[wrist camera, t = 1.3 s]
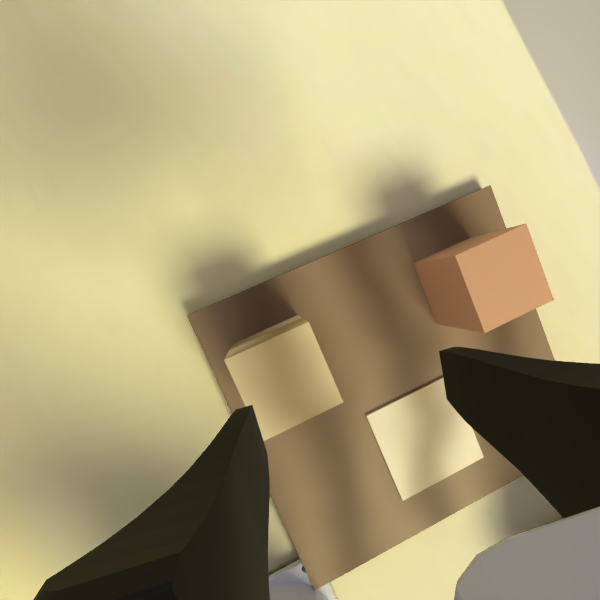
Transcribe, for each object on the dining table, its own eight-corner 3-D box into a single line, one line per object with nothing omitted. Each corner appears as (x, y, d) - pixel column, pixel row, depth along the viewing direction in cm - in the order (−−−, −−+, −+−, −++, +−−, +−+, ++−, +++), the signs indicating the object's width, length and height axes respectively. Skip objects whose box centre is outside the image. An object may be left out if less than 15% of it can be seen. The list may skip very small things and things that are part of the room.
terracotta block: (437, 324, 21) (484, 333, 17) (413, 263, 21) (454, 255, 16) (493, 297, 22) (553, 299, 17) (470, 237, 21) (526, 223, 17)
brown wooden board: (312, 579, 21) (315, 592, 20) (189, 314, 20) (186, 315, 19) (573, 435, 24) (586, 441, 23) (482, 189, 22) (492, 184, 21)
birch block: (261, 408, 20) (261, 442, 15) (232, 344, 19) (224, 359, 15) (325, 377, 20) (343, 402, 16) (297, 314, 20) (308, 321, 15)
